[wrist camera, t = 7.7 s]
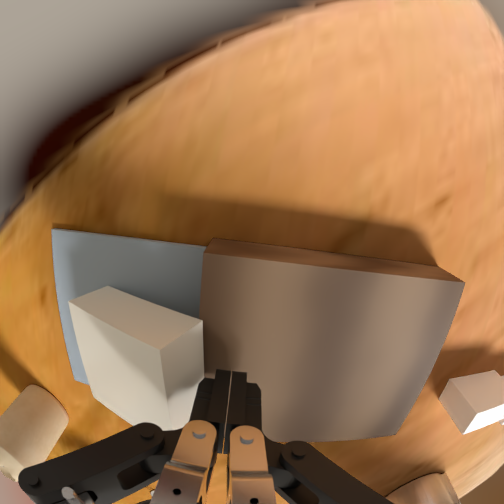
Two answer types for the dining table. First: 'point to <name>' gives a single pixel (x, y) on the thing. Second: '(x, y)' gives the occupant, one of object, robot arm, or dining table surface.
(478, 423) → the napkin holder
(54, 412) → the candle
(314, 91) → the dining table surface
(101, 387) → the white block
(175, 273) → the mat
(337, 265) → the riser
